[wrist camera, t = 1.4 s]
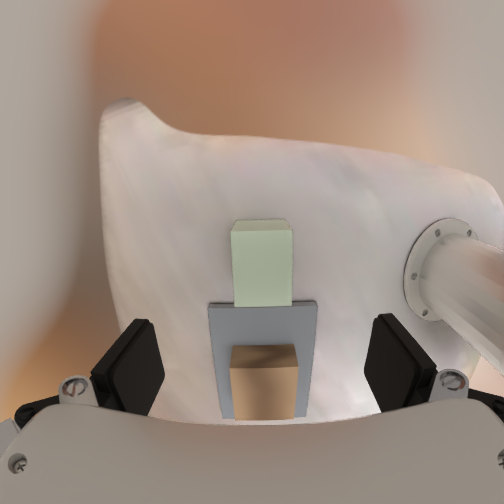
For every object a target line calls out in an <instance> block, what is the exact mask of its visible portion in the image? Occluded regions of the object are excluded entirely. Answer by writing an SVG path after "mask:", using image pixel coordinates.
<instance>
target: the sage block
mask: <svg viewBox="0 0 504 504" xmlns="http://www.w3.org/2000/svg"><path fill="white" fill-rule="evenodd" d="M230 234H231V254H232V272H233V289H234V305H235V307H267V306H292V259H293V230H292V229H291V227H290V226H289V224H288V223H287V222H286V220H285V219H265V220H237V221H236V222H235V224H234V226H233V228H232V230H231V232H230Z"/></svg>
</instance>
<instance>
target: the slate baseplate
mask: <svg viewBox="0 0 504 504" xmlns="http://www.w3.org/2000/svg"><path fill="white" fill-rule="evenodd" d="M317 308H318V305H317V303H316V301H311V302H292V306H267V307H235V305H234V304H209V306H208V316H209V325H210V334H211V342H212V350H213V357H214V365H215V372H216V379H217V386H218V392H219V399H220V405H221V411H222V417H223V419H235V415H234V406H233V398H232V389H231V380H230V370H229V367H230V361H231V354H232V347H233V345H282V344H294V346H295V351H296V356H297V361H298V366H299V368H298V380H297V392H296V402H295V412H294V418H295V417H306V411H307V405H308V397H309V390H310V382H311V373H312V364H313V355H314V345H315V334H316V322H317Z"/></svg>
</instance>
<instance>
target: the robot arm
mask: <svg viewBox="0 0 504 504" xmlns="http://www.w3.org/2000/svg"><path fill="white" fill-rule="evenodd" d="M404 291H405V297H406V299H407V302H408V304H409V306H410V308H411V309H412V310H413V311H414V312H415V313H416V314H417V315H418V316H419V317H420V318H422V319H424V320H427V321H439V320H444V321H445V322H446V323H447V324H448V325H449V326H450V327H451V328H453V329H454V330H455V331H456V332H457V333H458V334H459V335H460V336H461V337H463V338H464V339H465V340H466V341H467V342H468V343H469V344H470V345H471V346H472V347H473V348H474V349H475V350H476V351H477V352H479V353H480V354H481V355H482V356H483V357H484V358H485V359H486V360H487V361H488V362H489V363H490V364H491V365H492V366H493V367H494V368H495V369H496V370H497V371H498V372H499V373H500V374H501V375H502V376H503V377H504V250H502V249H499V248H496V247H494V246H491V245H489V244H486V243H483V242H481V241H479V240H478V237H477V235H476V233H475V232H474V230H473V229H472V228H471V227H470V226H469V225H468V224H467V223H465V222H463V221H461V220H457V219H449V218H447V219H443V220H440V221H438V222H436V223H434V224H432V225H431V226H430V227H429V228H427V229H426V230H425V231H424V232H423V234H422V235H421V236H420V237H419V239H418V240H417V242H416V243H415V245H414V247H413V249H412V251H411V253H410V255H409V258H408V261H407V264H406V269H405V275H404ZM91 374H92V376H91V377H90V378H87V377H85V376H81V375H77V376H72V377H69V378H67V379H65V380H64V381H63V382H62V383H61V384H60V386H59V390H58V391H59V395H57V396H53V397H50V398H46V399H42V400H39V401H35V402H32V403H28V404H25V405H22V406H21V407H20V408H19V409H18V410H17V411H16V413H15V417H14V419H15V420H12V419H11V418H9V419H7V420H5V421H3V422H1V423H0V504H504V398H503V397H501V396H497V395H493V394H489V393H485V392H481V391H477V390H473V389H469V380H468V378H467V377H466V376H465V375H464V374H463V373H462V372H460V371H458V370H455V369H444V370H442V371H440V372H438V371H437V370H436V364H435V363H434V362H433V361H432V360H431V358H430V357H429V356H428V355H427V353H426V352H425V351H424V350H423V349H422V347H421V346H420V345H419V344H418V343H417V342H416V340H415V339H414V338H413V337H412V336H411V334H410V333H409V332H408V331H407V330H406V329H405V328H404V326H403V325H402V324H401V323H400V322H399V321H398V320H397V318H396V317H395V316H394V315H393V314H392V313H387V314H379V315H378V317H377V318H375V319H374V322H373V327H372V333H371V338H370V343H369V348H368V353H367V358H366V362H365V366H364V375H365V377H366V379H367V381H368V384H369V386H370V388H371V390H372V392H373V394H374V397H375V399H376V401H377V403H378V406H379V408H380V410H381V412H382V413H378V414H372V415H367V416H361V417H355V418H349V419H342V420H334V421H326V422H316V423H305V424H290V425H221V424H205V423H194V422H184V421H176V420H168V419H161V418H155V417H149V416H147V415H148V413H149V411H150V409H151V407H152V404H153V402H154V400H155V398H156V396H157V393H158V391H159V389H160V387H161V385H162V383H163V380H164V377H165V372H164V368H163V364H162V360H161V356H160V352H159V348H158V343H157V339H156V335H155V330H154V326H153V324H152V323H150V322H149V320H148V319H134V320H133V322H132V323H131V324H130V325H129V326H128V327H127V329H126V330H125V331H124V332H123V333H122V334H121V336H120V337H119V338H118V339H117V340H116V342H115V343H114V344H113V345H112V346H111V348H110V349H109V350H108V351H107V353H106V354H105V355H104V356H103V357H102V359H101V360H100V361H99V362H98V363H97V365H96V366H95V367H94V368H93V369H92V371H91Z"/></svg>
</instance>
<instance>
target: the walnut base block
mask: <svg viewBox="0 0 504 504" xmlns="http://www.w3.org/2000/svg"><path fill="white" fill-rule="evenodd" d="M298 368H299V366H298V361H297V356H296V351H295V346H294V344H282V345H233V347H232V354H231V361H230V367H229V370H230V380H231V389H232V398H233V406H234V415H235V420H285V419H294V412H295V402H296V392H297V380H298Z"/></svg>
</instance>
